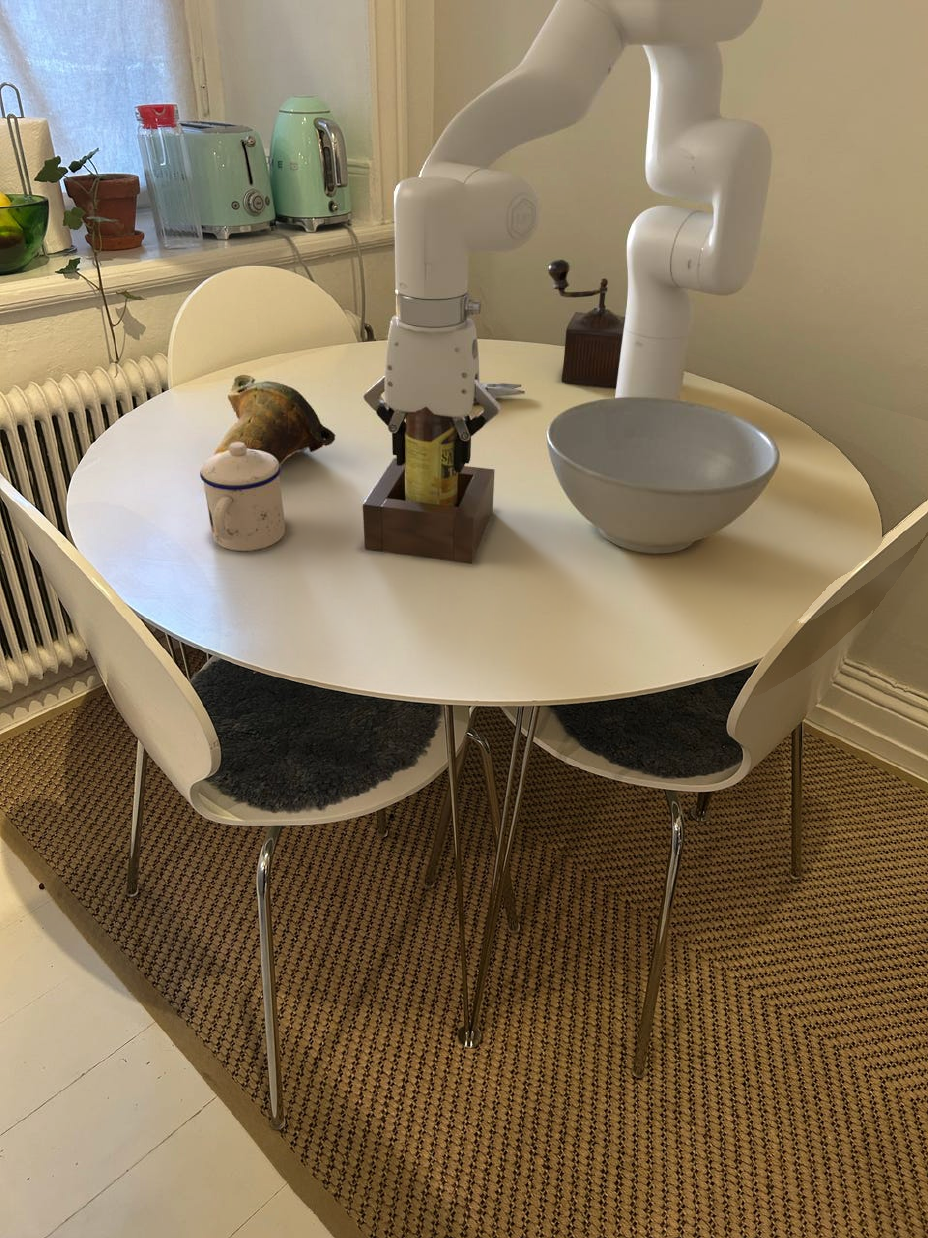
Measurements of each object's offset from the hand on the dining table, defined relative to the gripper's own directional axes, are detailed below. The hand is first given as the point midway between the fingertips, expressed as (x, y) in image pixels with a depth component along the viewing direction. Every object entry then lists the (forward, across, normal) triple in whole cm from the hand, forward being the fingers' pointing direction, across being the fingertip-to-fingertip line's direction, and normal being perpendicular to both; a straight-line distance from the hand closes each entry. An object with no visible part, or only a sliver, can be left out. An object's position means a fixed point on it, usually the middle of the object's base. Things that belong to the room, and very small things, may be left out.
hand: (431, 463), depth 103 cm
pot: (+9, +27, -14) cm, 32 cm away
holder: (+9, 0, 0) cm, 9 cm away
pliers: (+9, +6, -42) cm, 43 cm away
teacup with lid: (+9, +21, +8) cm, 24 cm away
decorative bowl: (+9, -26, -7) cm, 28 cm away
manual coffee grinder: (+9, -12, -61) cm, 63 cm away
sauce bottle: (+7, 0, 0) cm, 7 cm away
